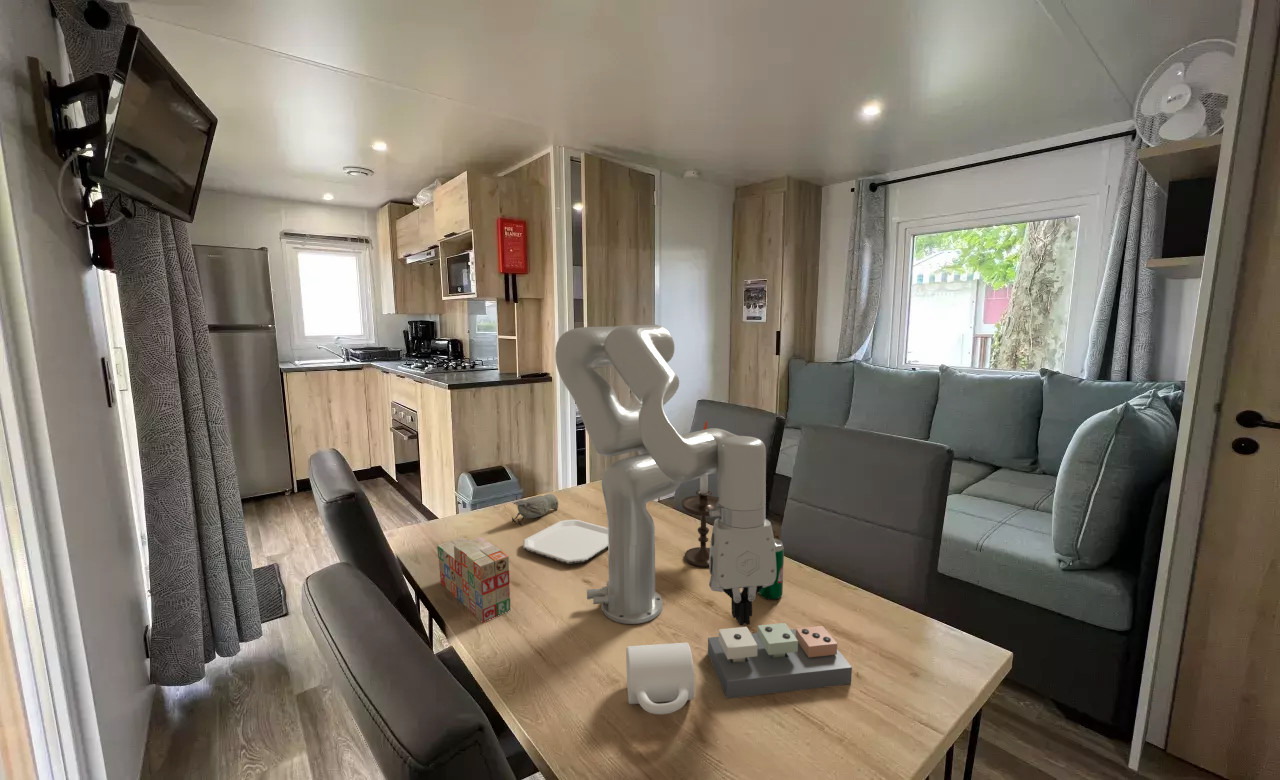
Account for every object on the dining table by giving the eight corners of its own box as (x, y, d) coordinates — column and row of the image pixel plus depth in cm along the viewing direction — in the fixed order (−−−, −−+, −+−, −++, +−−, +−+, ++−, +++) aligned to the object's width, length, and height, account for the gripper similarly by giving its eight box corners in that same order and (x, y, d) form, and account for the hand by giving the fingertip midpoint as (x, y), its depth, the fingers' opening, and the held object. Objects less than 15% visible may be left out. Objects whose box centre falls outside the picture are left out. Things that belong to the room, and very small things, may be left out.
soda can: (783, 602, 107) (785, 548, 105) (758, 599, 108) (760, 546, 106) (781, 589, 112) (783, 537, 110) (757, 587, 113) (759, 536, 111)
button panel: (727, 698, 80) (727, 681, 80) (707, 653, 91) (708, 637, 91) (851, 684, 83) (852, 667, 83) (818, 641, 94) (819, 626, 93)
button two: (768, 671, 84) (769, 643, 83) (757, 651, 89) (757, 624, 88) (796, 668, 85) (798, 640, 84) (784, 648, 90) (785, 622, 89)
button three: (807, 673, 85) (809, 645, 84) (794, 654, 90) (795, 627, 89) (835, 670, 86) (837, 642, 85) (821, 651, 91) (822, 624, 90)
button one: (727, 676, 83) (727, 647, 82) (718, 655, 88) (718, 628, 87) (756, 672, 84) (757, 644, 83) (746, 653, 89) (746, 625, 88)
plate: (626, 540, 137) (626, 532, 137) (577, 573, 120) (577, 564, 120) (567, 523, 148) (567, 516, 148) (515, 551, 131) (514, 543, 131)
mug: (626, 679, 85) (625, 635, 84) (685, 675, 86) (686, 631, 84) (631, 738, 73) (630, 688, 72) (700, 733, 74) (700, 683, 73)
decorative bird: (563, 512, 157) (562, 489, 156) (520, 529, 144) (519, 504, 143) (551, 508, 160) (550, 485, 159) (508, 524, 148) (507, 500, 147)
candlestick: (712, 546, 133) (714, 414, 128) (733, 565, 123) (736, 423, 117) (674, 552, 129) (674, 417, 124) (691, 572, 119) (693, 426, 114)
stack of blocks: (439, 583, 116) (435, 532, 114) (465, 573, 120) (462, 524, 118) (483, 624, 100) (479, 565, 98) (511, 611, 105) (509, 555, 103)
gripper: (702, 526, 77) (703, 639, 79) (796, 518, 79) (794, 628, 81) (690, 509, 84) (692, 612, 87) (776, 502, 86) (775, 603, 89)
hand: (741, 620), depth 84 cm, fingers closed
